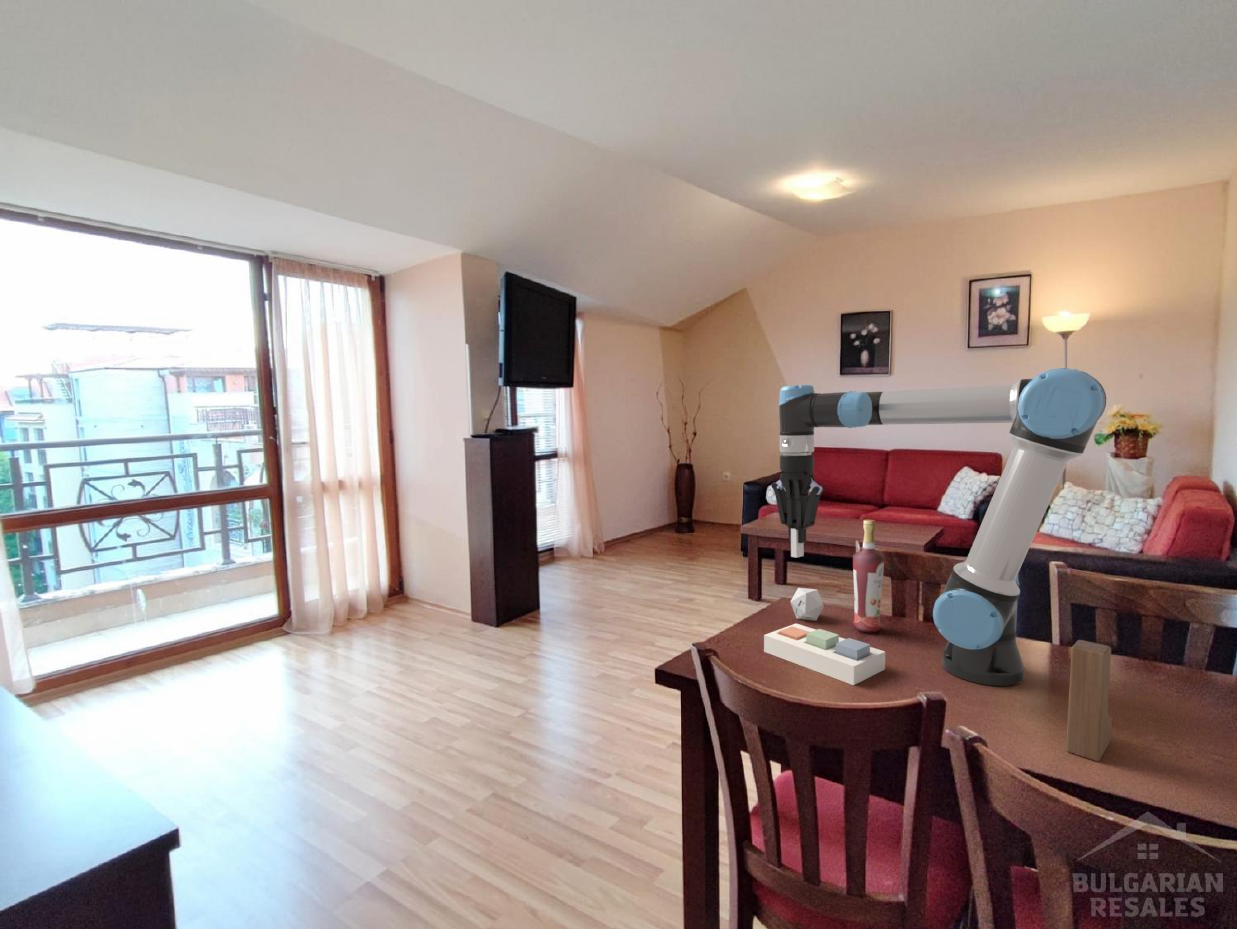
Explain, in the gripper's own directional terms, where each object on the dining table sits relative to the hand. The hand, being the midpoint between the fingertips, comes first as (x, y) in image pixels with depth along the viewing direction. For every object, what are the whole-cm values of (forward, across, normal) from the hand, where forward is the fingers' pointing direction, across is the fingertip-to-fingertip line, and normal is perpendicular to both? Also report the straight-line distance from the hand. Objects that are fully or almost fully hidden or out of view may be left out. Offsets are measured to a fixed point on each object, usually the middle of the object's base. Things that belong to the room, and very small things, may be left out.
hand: (797, 556), depth 145 cm
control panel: (+23, +7, 0) cm, 24 cm away
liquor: (+23, +3, +25) cm, 34 cm away
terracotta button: (+21, -1, 0) cm, 21 cm away
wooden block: (+24, +56, +3) cm, 61 cm away
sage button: (+20, +7, 0) cm, 21 cm away
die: (+23, -12, +21) cm, 33 cm away
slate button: (+20, +14, 0) cm, 24 cm away
